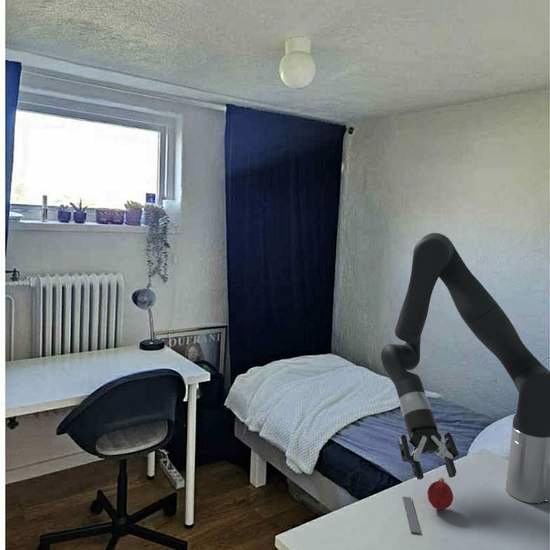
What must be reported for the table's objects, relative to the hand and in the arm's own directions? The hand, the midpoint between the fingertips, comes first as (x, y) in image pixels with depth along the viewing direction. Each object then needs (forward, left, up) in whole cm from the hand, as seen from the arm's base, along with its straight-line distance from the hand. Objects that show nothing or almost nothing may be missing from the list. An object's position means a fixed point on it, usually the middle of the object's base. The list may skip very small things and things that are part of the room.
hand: (437, 477), depth 118 cm
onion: (-1, +2, -7) cm, 8 cm away
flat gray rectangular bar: (+6, +5, -7) cm, 11 cm away
